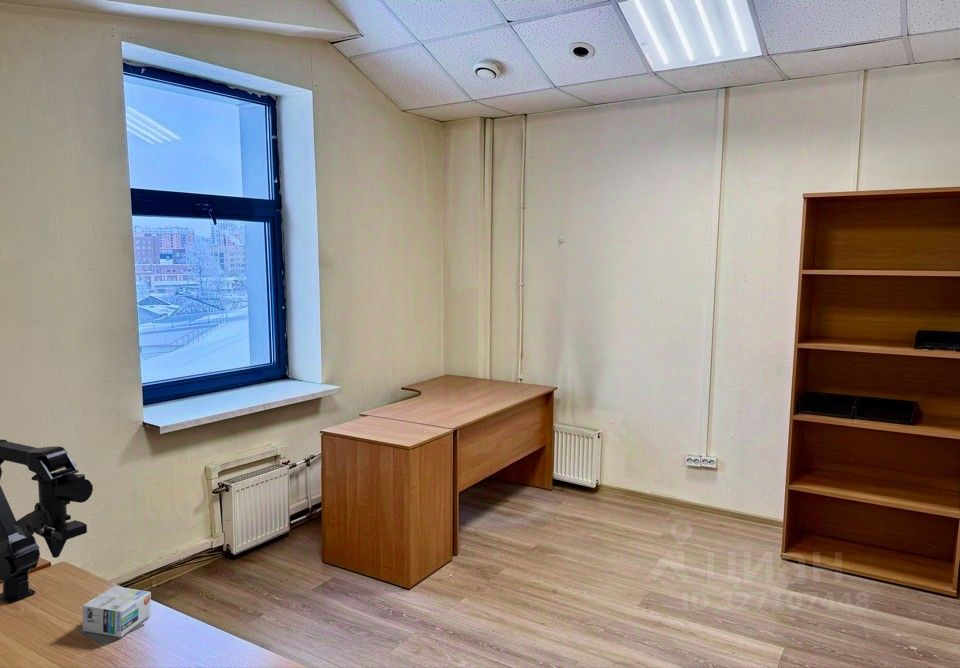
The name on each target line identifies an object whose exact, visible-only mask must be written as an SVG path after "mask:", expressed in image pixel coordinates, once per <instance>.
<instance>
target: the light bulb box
mask: <svg viewBox="0 0 960 668" xmlns="http://www.w3.org/2000/svg"><path fill="white" fill-rule="evenodd" d="M151 599H152V592H151V591H147V590H142V589H141V590H140V589H136V588H128V587H122V586H117V585H114V586H112V587H110V588H109V589H107V590H105V591H104V592H102V593H100V594H99V595H97V596H96V597H94V598H93V599H91V600H89V601H87V602H86V603H85V604H83V605H82V630H83V631H86V632H92V633H98V634H104V635H110V636H115V637H120V638H123V637H125V636H126V635H127V634H126V633H128V632H129V631H130V630H131V629H133V628H134V627H135V626H137V625H138V624H139V623H142V622H143V621H145V620H147V619H148V618H149V617H150V616H151V607H152V606H151ZM125 634H126V635H125ZM128 634H129V633H128Z"/></svg>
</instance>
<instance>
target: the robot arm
mask: <svg viewBox="0 0 960 668" xmlns="http://www.w3.org/2000/svg"><path fill="white" fill-rule="evenodd" d="M5 461H6V462H10V463H15V464H20V465H24V466H26V467H27V468H28V470H29V471H31V472H32V473H34V475H33V476H32V477H31V481H35V482H37V485H38V487H37V488H38V502H35V505H34V510H33V511H31V512H29V513H27V514H25V515H24V516H23V517H21V518H19V519H16V517H15V515H14V513H13V511H12V508H11V506H10V503H9V502H8V499H7V497H6V494H5V493H4V490H3V488H2V485H0V581H1V583H2V592H1V593H0V600H1V601H4V602H5V603H8V604H12V603H13V602H16V601H19V600H21V599H24V598H27V597H30V596H31V595H34V594H36V590H35V589H32V588H30V579H29V571H30V570H33V569H36V568H37V566H38V563H39V559H40V557H41V552H40V546H39V545H38V543H37V541H36V537H35V536H34V533H35V535H39V536H40V537H42V538H43V539H44V541H45V543H46V545H47V547H48V550H49V552H50V553H51V556H52V558H54V559H56V558H59V557H60V556H61V553H62V551H63V549H64V546H65V544H66V542H67V541H68V540H70V539H73V538H76V537H79V536H81V535H85V534H87V533H88V524H87V523H85V522H82V521H80V520H77V519H75V520H71V519H72V516H71V515H70V514H68V512H67V511H68V509H67V505H70V504H71V502H73V503H81V504H82V503H85V502H86V501H88V500H89V498H90V497H91V496H92V494H93V490H94V487H93V484H92V482H91V481H90V480H89V479H86V475H85V474H83V473H79V469H78V467H77V464H76V463H75V462H74V461H73V459H72V458H71V456H70V455H69V452H67V450H66V449H65V448H64V446H45V447H35V446H31V445H25V444H22V443H15V442H12V441H8V440H6V439H1V438H0V480H1V479H2V474H3V470H2V464H3V463H5ZM78 473H79V474H78ZM70 520H71V521H70Z"/></svg>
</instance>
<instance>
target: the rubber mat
mask: <svg viewBox="0 0 960 668" xmlns="http://www.w3.org/2000/svg"><path fill="white" fill-rule="evenodd" d="M142 627H145V624H144V623H142V622H141V623H139V624H138V625H137V626H135V627H134V628H133V629H131V630H130V631H129V632H128V633H126V634H125V635H124V636H126V635H128V634H130V633H133V632H134V631H136V630H138V629H140V628H142ZM79 633H80V634H81V635H84V636H86V637H88V638H90V639H92V640H93V641H95V642H97V643H98V644H99V643H100V644H101V645H103V646H106V645H109V643H112V642H114V641H116V640H118V639H120V638H121V637H115V636H110V635H104V634H98V633H92V632H86V631H83V629H82V630H81V629H80V630H79Z"/></svg>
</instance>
